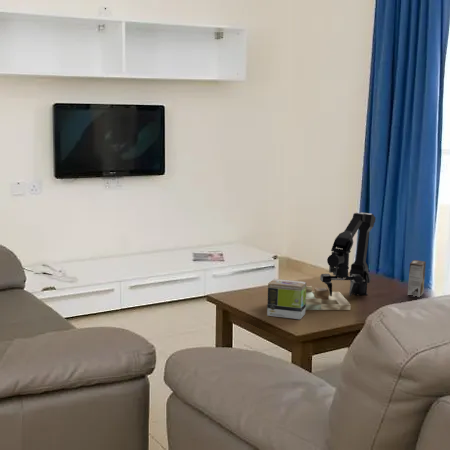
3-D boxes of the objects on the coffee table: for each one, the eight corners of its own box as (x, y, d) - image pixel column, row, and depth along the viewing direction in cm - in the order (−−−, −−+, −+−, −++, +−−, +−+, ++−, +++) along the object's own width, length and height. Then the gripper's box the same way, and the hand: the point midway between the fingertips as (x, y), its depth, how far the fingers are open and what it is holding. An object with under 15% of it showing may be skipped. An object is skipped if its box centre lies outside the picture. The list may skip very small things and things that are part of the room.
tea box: (305, 314, 322) (307, 281, 319) (300, 320, 312) (302, 286, 310) (272, 309, 326) (273, 277, 324) (266, 316, 317) (267, 282, 314)
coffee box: (410, 291, 365) (413, 259, 362) (423, 293, 363) (426, 261, 360) (406, 295, 357) (409, 263, 354) (420, 297, 354) (422, 264, 352)
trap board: (339, 296, 351) (339, 286, 350) (350, 310, 330) (351, 299, 329) (295, 296, 349) (296, 286, 349) (304, 309, 328) (304, 298, 327)
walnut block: (325, 296, 342) (326, 287, 341) (328, 299, 337) (328, 291, 336) (314, 296, 342) (314, 287, 341) (316, 299, 336) (317, 291, 335)
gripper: (357, 259, 346) (355, 291, 348) (318, 259, 344) (316, 291, 347) (364, 265, 335) (362, 298, 337) (323, 264, 333) (322, 298, 336)
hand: (340, 296), depth 340 cm, fingers open, 9 cm apart
